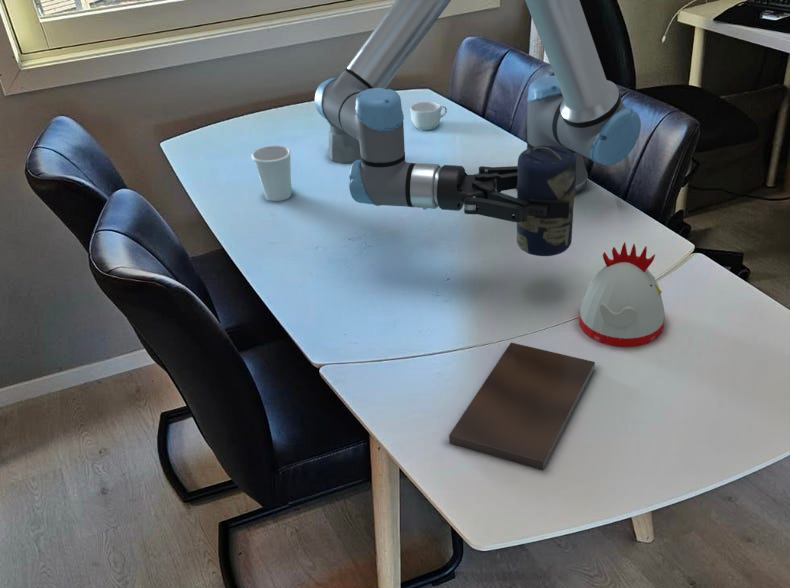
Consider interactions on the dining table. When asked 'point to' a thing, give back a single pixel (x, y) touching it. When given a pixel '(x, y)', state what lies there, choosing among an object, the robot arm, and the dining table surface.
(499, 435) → the serving board
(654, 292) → the kitchen timer
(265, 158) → the dixie cup
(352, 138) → the coffeepot
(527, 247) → the canister
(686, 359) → the dining table surface
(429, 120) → the teacup
